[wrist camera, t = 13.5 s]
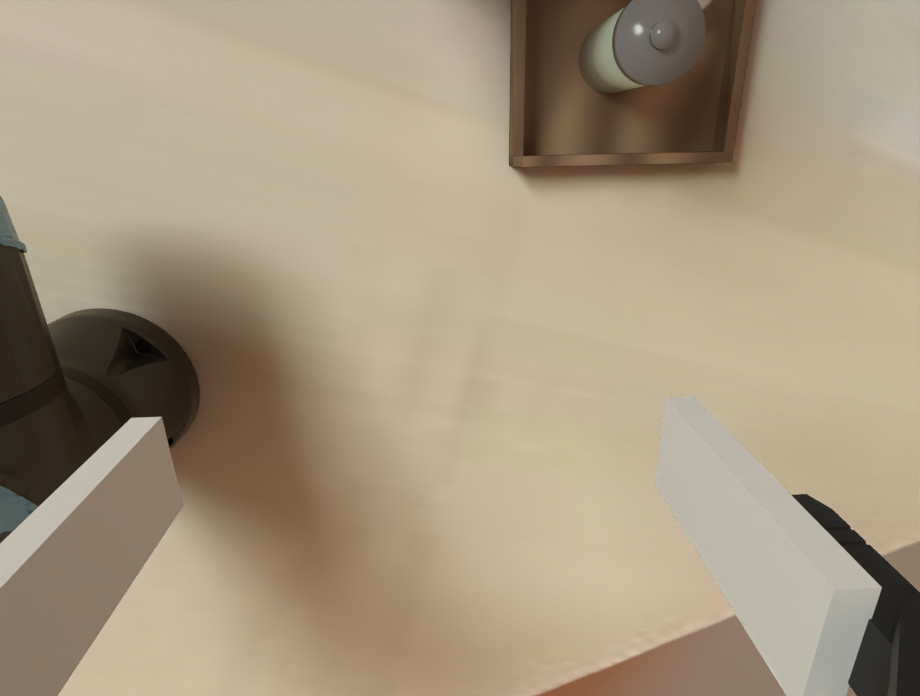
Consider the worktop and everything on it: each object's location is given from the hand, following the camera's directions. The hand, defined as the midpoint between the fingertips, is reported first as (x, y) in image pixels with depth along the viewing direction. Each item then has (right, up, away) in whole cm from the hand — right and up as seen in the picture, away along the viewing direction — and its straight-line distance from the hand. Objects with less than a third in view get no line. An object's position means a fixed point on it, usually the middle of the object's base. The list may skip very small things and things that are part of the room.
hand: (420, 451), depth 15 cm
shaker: (+13, +26, +29) cm, 41 cm away
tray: (+14, +26, +30) cm, 42 cm away
